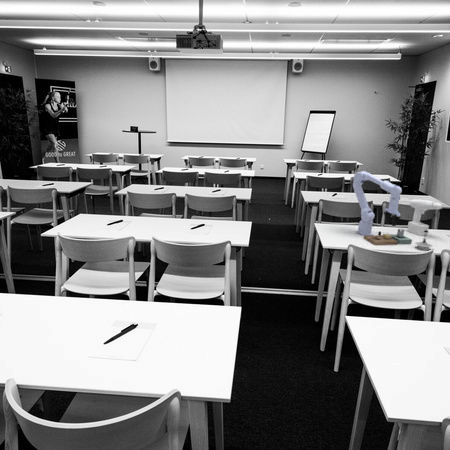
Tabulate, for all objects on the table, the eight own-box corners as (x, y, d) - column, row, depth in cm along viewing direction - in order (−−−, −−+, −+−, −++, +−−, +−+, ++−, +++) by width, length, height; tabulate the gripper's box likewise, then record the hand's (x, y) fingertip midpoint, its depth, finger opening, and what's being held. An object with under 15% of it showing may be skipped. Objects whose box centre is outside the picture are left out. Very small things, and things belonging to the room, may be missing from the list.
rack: (388, 238, 273) (389, 234, 272) (400, 238, 275) (401, 234, 274) (399, 244, 262) (399, 239, 261) (411, 243, 264) (412, 239, 263)
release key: (381, 240, 268) (382, 233, 267) (387, 240, 269) (388, 233, 268) (385, 242, 264) (386, 235, 263) (390, 242, 265) (391, 235, 264)
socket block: (363, 238, 271) (364, 235, 270) (385, 238, 274) (385, 235, 273) (374, 245, 258) (375, 242, 257) (397, 244, 261) (397, 241, 260)
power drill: (431, 239, 276) (438, 204, 269) (402, 230, 296) (408, 196, 289) (439, 238, 279) (446, 203, 273) (410, 229, 300) (416, 196, 293)
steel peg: (394, 240, 270) (396, 228, 268) (399, 240, 271) (402, 228, 269) (398, 242, 266) (400, 230, 264) (403, 242, 267) (405, 230, 265)
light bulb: (421, 227, 259) (415, 229, 253) (437, 230, 252) (431, 233, 246) (418, 245, 262) (411, 247, 256) (434, 249, 255) (427, 252, 249)
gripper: (405, 207, 260) (402, 227, 263) (392, 202, 273) (389, 221, 277) (396, 207, 258) (392, 227, 262) (383, 202, 272) (380, 221, 276)
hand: (390, 224), depth 269 cm, fingers open, 7 cm apart
